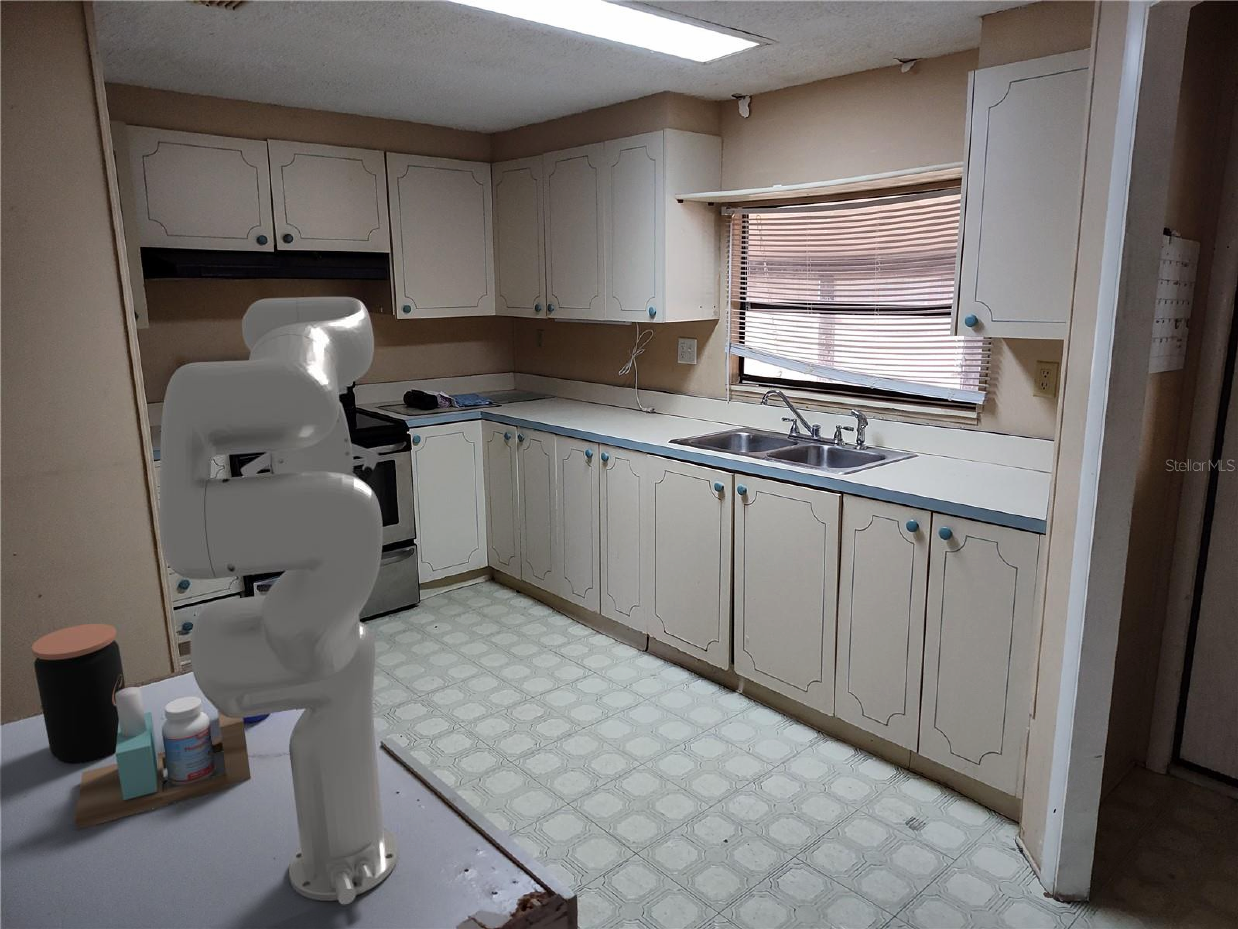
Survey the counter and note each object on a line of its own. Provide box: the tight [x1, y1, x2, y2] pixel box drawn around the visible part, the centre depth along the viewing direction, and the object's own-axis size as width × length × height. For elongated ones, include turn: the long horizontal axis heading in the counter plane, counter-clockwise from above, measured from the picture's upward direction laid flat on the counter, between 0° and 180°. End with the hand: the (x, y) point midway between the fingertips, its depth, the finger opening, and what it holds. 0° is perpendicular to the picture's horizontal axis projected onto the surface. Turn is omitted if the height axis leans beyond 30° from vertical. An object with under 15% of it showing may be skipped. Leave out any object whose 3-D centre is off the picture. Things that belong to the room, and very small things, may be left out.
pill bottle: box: [161, 696, 216, 786], centre depth 117 cm, size 6×6×11 cm
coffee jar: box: [30, 623, 127, 765], centre depth 124 cm, size 11×11×18 cm
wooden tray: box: [74, 710, 252, 831], centre depth 116 cm, size 12×21×9 cm, turn 118°
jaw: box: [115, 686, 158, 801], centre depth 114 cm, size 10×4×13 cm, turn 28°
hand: (318, 521), depth 111 cm, fingers open, 9 cm apart
